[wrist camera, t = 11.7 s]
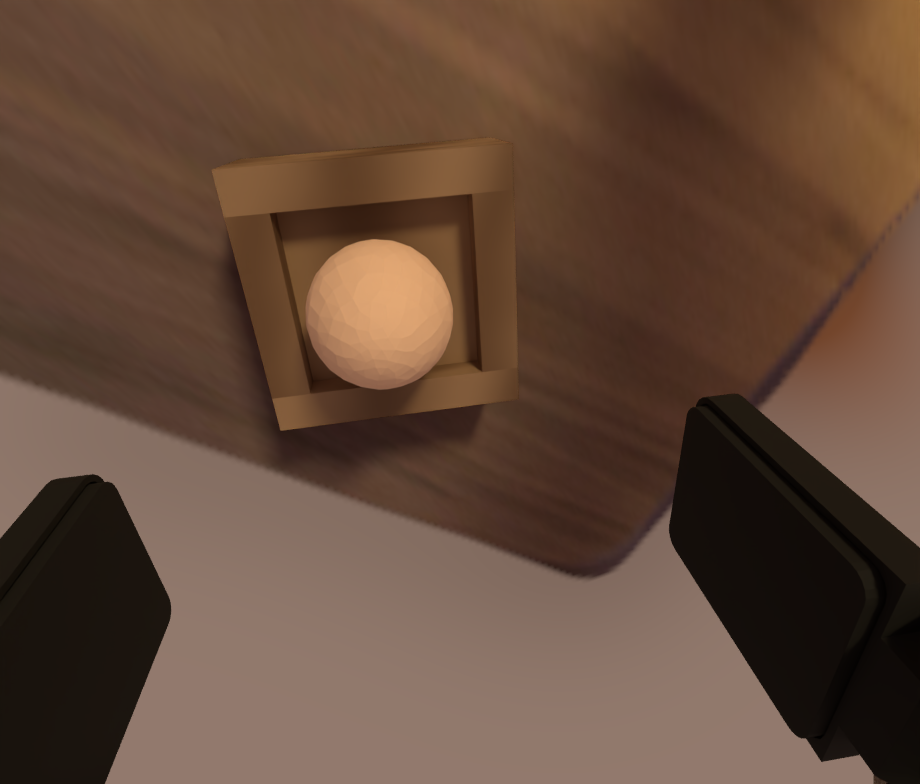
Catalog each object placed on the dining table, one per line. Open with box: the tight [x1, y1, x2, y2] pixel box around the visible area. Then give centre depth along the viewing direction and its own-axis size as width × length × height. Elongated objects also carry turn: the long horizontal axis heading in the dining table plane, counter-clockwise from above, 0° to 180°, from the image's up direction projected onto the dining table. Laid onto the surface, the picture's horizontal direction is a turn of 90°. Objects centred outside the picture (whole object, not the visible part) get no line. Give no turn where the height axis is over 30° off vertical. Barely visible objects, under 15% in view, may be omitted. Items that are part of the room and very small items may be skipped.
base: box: [212, 137, 519, 431], centre depth 22 cm, size 10×10×4 cm
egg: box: [305, 239, 453, 390], centre depth 19 cm, size 5×5×6 cm
